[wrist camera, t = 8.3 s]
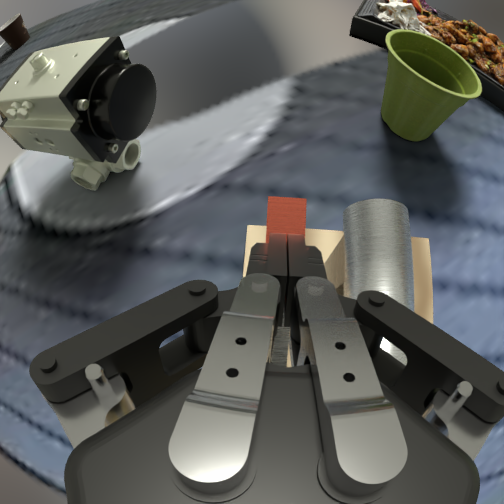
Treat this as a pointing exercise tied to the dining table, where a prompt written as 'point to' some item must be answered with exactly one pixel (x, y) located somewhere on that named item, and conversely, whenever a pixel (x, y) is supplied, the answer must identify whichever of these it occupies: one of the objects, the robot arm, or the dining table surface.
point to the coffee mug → (14, 32)
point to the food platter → (436, 37)
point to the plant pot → (424, 84)
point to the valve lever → (290, 222)
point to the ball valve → (81, 106)
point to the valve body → (375, 256)
